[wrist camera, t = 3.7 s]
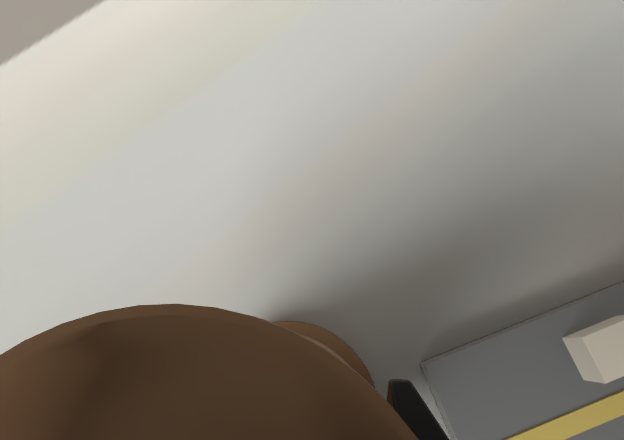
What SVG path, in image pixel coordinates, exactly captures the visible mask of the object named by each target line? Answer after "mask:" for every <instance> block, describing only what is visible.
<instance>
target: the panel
mask: <svg viewBox="0 0 624 440" xmlns="http://www.w3.org/2000/svg"><path fill="white" fill-rule="evenodd" d="M618 315H624V281H623V282H620V283H618V284H615V285H613V286H610V287H608V288H605V289H603V290H600V291H598V292H595V293H593V294H591V295H588V296H586V297H583V298H581V299H578V300H576V301H573V302H571V303H568V304H566V305H563V306H561V307H558V308H556V309H553V310H551V311H548V312H546V313H543V314H541V315H538V316H536V317H533V318H531V319H528V320H526V321H523V322H521V323H518V324H516V325H513V326H511V327H508V328H506V329H503V330H501V331H498V332H496V333H493V334H491V335H488V336H486V337H483V338H481V339H478V340H476V341H473V342H471V343H468V344H466V345H463V346H461V347H458V348H456V349H453V350H451V351H448V352H446V353H443V354H441V355H439V356H436V357H434V358H431V359H429V360H426V361H424V362H421V363H420V366H421V368H422V370H423V373H424V375H425V377H426V380H427V382H428V384H429V387H430V389H431V392H432V394H433V396H434V399H435V401H436V403H437V406H438V408H439V410H440V413H441V415H442V418H443V420H444V422H445V425H446V427H447V429H448V432H449V434H450V436H451V439H452V440H624V376H623V377H621V378H618V379H616V380H613V381H611V382H609V383H606V384H604V383H598V382H592V381H586V380H583V378H582V376H581V374H580V372H579V370H578V368H577V366H576V364H575V363H574V361H573V359H572V357H571V355H570V353H569V351H568V349H567V347H566V345H565V343H564V341H563V339H562V338H563V337H565V336H568V335H570V334H573V333H575V332H577V331H580V330H582V329H585V328H587V327H590V326H592V325H595V324H597V323H600V322H602V321H605V320H607V319H610V318H612V317H614V316H618Z"/></svg>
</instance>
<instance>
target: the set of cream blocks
mask: <svg viewBox="0 0 624 440" xmlns="http://www.w3.org/2000/svg"><path fill="white" fill-rule="evenodd" d="M562 339H563V341H564V343H565V345H566V347H567V349H568V351H569V353H570V355H571V357H572V359H573V361H574V363H575V364H576V366H577V368H578V370H579V372H580V374H581V376H582V378H583V380H586V381H592V382H598V383H604V384H606V383H609V382H611V381H613V380H616V379H618V378H621V377H623V376H624V315H618V316H614V317H612V318H610V319H607V320H605V321H602V322H600V323H597V324H595V325H592V326H590V327H587V328H585V329H582V330H580V331H577V332H575V333H573V334H570V335H568V336H565V337H563V338H562Z"/></svg>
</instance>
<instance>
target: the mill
mask: <svg viewBox="0 0 624 440" xmlns="http://www.w3.org/2000/svg"><path fill="white" fill-rule="evenodd" d="M0 440H419V439H418V438H417V437H416V436H415V434H414V433H413V432H412V431H411V429H410V428H409V427H408V426H407V425H406V423H405V422H404V421H403V420H402V418H401V417H400V416H399V415H398V413H397V412H396V411H395V410H394V408H393V407H392V406H391V405H390V404H389V403H388V402H387V401H386V399H385V398H384V397H383V396H382V395H381V394H380V393H379V392H378V391H376V390H375V387H374V384H373V381H372V379H371V377H370V375H369V372H368V370H367V369H366V367H365V366H364V364H363V362H362V361H361V359H360V358H359V357H358V356H357V354H356V353H355V352H354V351H353V350H352V349H351V348H350V347H349V346H348V345H347V344H346V343H345V342H344V341H342V340H341V339H340V338H338V337H337V336H336V335H334V334H332V333H330V332H329V331H327V330H325V329H322V328H320V327H317V326H315V325H311V324H307V323H303V322H293V321H283V322H274V323H271V322H268V321H266V320H263V319H260V318H256V317H253V316H249V315H245V314H240V313H236V312H232V311H228V310H223V309H219V308H214V307H204V306H194V305H183V304H162V305H138V306H132V307H126V308H121V309H115V310H109V311H103V312H99V313H95V314H92V315H89V316H86V317H82V318H79V319H76V320H73V321H69V322H66V323H63V324H60V325H58V326H56V327H54V328H52V329H49V330H47V331H45V332H43V333H40V334H38V335H36V336H34V337H32V338H29V339H27V340H25V341H23V342H21V343H20V344H18V345H16V346H15V347H13V348H11V349H10V350H8V351H6V352H5V353H3V354H1V355H0Z"/></svg>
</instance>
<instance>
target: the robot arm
mask: <svg viewBox="0 0 624 440" xmlns="http://www.w3.org/2000/svg"><path fill="white" fill-rule="evenodd" d="M387 402H388V403H389V404H390V405H391V406H392V407H393V408H394V410H395V411H396V412H397V413H398V415H399V416H400V417H401V418H402V420H403V421H404V422H405V423H406V425H407V426H408V427H409V428H410V429H411V431H412V432H413V433H414V434H415V436H416V437H417V438H418V439H419V440H449V438H448V437H447V435H446V434H445V432H444V431H443V429H442V428H441V426H440V425H439V423H438V422H437V420H436V419H435V417H434V416H433V414H432V413H431V411H430V410H429V408H428V407H427V405H426V404H425V402H424V401H423V399H422V398H421V396H420V395H419V393H418V392H417V390H416V389H415V387H414V386H413V384H412V383H411V382H410V381H409V380H401V379H392V380H390V382H389V386H388V396H387Z"/></svg>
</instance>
